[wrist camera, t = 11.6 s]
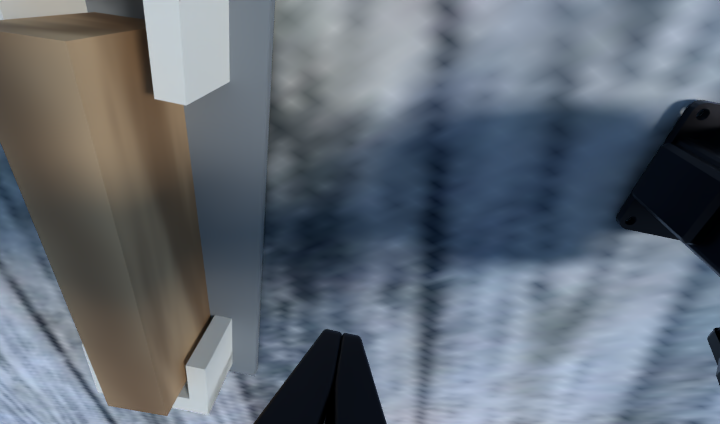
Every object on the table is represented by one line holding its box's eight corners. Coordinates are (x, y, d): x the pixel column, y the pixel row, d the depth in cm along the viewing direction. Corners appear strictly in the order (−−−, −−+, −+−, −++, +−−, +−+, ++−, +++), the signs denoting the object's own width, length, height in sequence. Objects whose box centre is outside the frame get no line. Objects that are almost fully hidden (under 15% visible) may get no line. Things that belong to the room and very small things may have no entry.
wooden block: (173, 23, 16) (65, 41, 11) (212, 333, 27) (167, 416, 22) (94, 11, 16) (-49, 24, 11) (165, 325, 27) (108, 405, 22)
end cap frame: (278, -69, 15) (231, -89, 11) (257, 369, 29) (234, 428, 25) (1, -127, 14) (-148, -169, 11) (119, 341, 29) (75, 396, 25)
